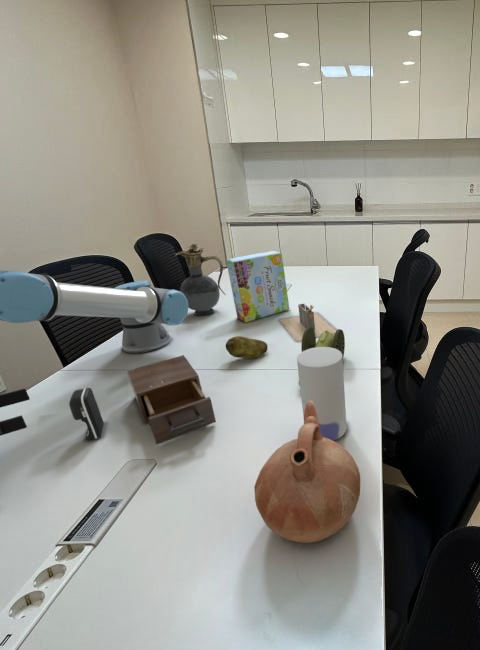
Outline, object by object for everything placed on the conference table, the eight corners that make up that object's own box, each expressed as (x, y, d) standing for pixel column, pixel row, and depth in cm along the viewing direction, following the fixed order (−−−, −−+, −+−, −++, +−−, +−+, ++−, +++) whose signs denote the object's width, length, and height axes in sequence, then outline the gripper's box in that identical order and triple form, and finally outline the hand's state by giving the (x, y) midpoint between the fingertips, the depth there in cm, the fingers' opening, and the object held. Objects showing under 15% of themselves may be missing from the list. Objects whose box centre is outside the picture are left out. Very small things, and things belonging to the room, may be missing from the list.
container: (352, 421, 96) (349, 349, 88) (336, 446, 88) (330, 369, 80) (316, 414, 99) (309, 343, 91) (297, 438, 91) (288, 362, 83)
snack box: (280, 305, 178) (273, 249, 168) (290, 310, 173) (283, 252, 162) (235, 318, 165) (224, 258, 155) (244, 323, 159) (234, 261, 149)
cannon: (325, 393, 109) (322, 357, 104) (285, 389, 111) (280, 354, 106) (347, 353, 131) (346, 322, 126) (314, 351, 133) (311, 320, 129)
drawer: (222, 431, 92) (216, 407, 90) (160, 455, 85) (153, 430, 82) (199, 397, 107) (194, 375, 104) (145, 415, 99) (138, 392, 96)
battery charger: (86, 427, 97) (71, 388, 92) (104, 422, 98) (90, 384, 94) (82, 443, 91) (65, 402, 86) (101, 438, 92) (85, 398, 88)
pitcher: (184, 312, 173) (168, 244, 161) (228, 304, 181) (216, 240, 169) (186, 319, 164) (169, 249, 152) (232, 311, 172) (220, 243, 160)
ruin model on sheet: (338, 332, 148) (336, 308, 144) (296, 341, 141) (294, 316, 137) (316, 313, 168) (314, 291, 165) (279, 319, 162) (276, 297, 158)
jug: (276, 477, 79) (263, 394, 71) (364, 477, 79) (360, 394, 71) (247, 561, 63) (225, 465, 55) (358, 562, 62) (353, 465, 54)
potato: (268, 360, 128) (264, 338, 124) (227, 365, 125) (222, 343, 122) (268, 350, 135) (265, 329, 132) (230, 354, 133) (226, 333, 130)
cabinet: (204, 402, 106) (198, 375, 102) (145, 423, 98) (136, 394, 94) (189, 380, 117) (183, 355, 114) (135, 397, 109) (127, 370, 106)
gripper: (-91, 431, 84) (34, 397, 95) (-131, 503, 65) (29, 450, 77) (-109, 402, 81) (22, 370, 92) (-156, 468, 62) (15, 419, 74)
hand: (26, 406), depth 85 cm, fingers open, 13 cm apart
